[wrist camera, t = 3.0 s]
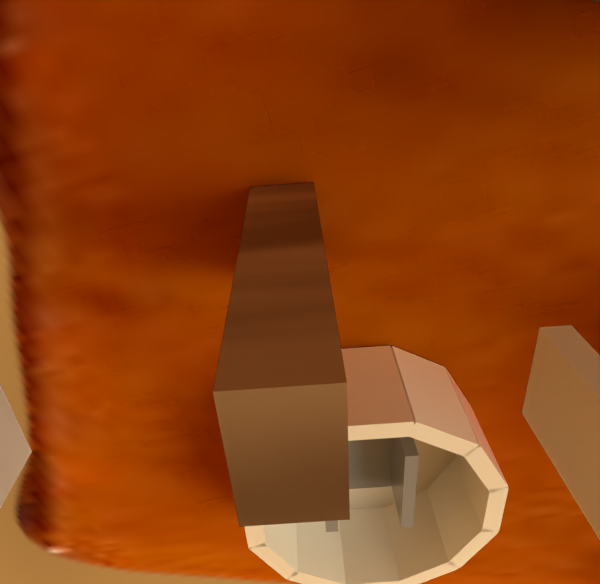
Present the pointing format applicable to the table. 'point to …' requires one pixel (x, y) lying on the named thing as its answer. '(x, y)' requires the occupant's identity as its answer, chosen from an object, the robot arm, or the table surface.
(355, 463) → the white round bowl
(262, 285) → the tall brown wooden block
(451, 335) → the table surface
